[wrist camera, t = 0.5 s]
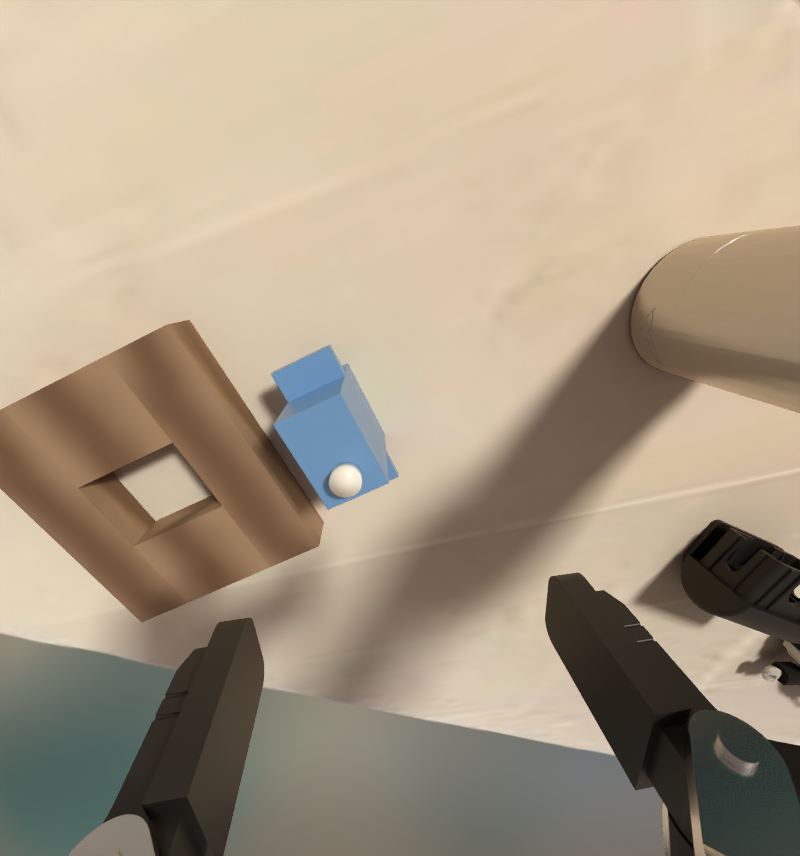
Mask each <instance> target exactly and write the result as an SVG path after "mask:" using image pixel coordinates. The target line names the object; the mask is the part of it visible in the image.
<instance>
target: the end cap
mask: <svg viewBox="0 0 800 856" xmlns="http://www.w3.org/2000/svg"><path fill="white" fill-rule="evenodd" d="M681 580H682V584H683V587H684V590H685V592H686V593H687V595H688V597H689V598H690V599H691V600H692V602H693V603H694V604H696V605H697V606H698V607H699V608H701V609H702V610H704V611H706V612H708V613H710V614H713V615H716V616H718V617H721V618H724V619H727V620H729V621H732V622H735V623H738V624H740V625H743V626H746V627H749V628H751V629H754V630H757V631H760V632H762V633H765V634H768V635H771V636H774V637H776V638H779V639H782V640H785V641H787V642H791V643H796V644H800V598H798V597H797V596H796V595H795V594H794V589H795V588H796V587H797V586H798V585H799V584H800V559H798V558H796V557H795V556H793V555H791V554H789V553H787V552H785V551H784V550H783V549H781V548H780V547H778V546H777V545H775V544H772V543H770V542H768V541H766V540H763V539H761V538H759V537H757V536H755V535H752V534H750V533H748V532H746V531H743V530H741V529H739V528H737V527H734V526H732V525H730V524H728V523H725V522H723V521H721V520H714V521H712V522H711V523H710V524H709V525H708V526H707V528H706V529H705V530H704V531H703V532H702V533H701V534H700V535H699V537H698V538H697V539H696V540H695V541H694V542H693V543H692V544H691V546H690V547H689V548H688V549H687V550H686V552H685V554H684V557H683V564H682V569H681Z"/></svg>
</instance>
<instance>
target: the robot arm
mask: <svg viewBox="0 0 800 856" xmlns="http://www.w3.org/2000/svg"><path fill="white" fill-rule="evenodd" d="M630 324H631V336H632V340H633V343H634V346H635V348H636V350H637V352H638V353H639V355H640V356H641V358H642V359H643V360H645V361H646V362H647V363H648V364H649V365H651V366H653V367H655V368H657V369H659V370H662V371H665V372H669V373H672V374H675V375H678V376H682V377H685V378H688V379H691V380H694V381H698V382H701V383H703V384H707V385H710V386H713V387H716V388H720V389H723V390H726V391H729V392H733V393H736V394H739V395H742V396H746V397H749V398H752V399H755V400H758V401H762V402H765V403H768V404H771V405H775V406H778V407H781V408H784V409H788V410H791V411H794V412H797V413H800V226H792V227H784V228H776V229H766V230H758V231H750V232H742V233H734V234H726V235H718V236H710V237H705V238H700V239H696V240H692V241H690V242H688V243H686V244H683V245H681V246H679V247H678V248H676V249H675V250H673V251H672V252H670V253H669V254H668V255H666V256H665V257H664V258H663V259H662V260H661V261H660V262H659V263H658V264H657V265H656V266H655V267H654V268H653V269H652V271H651V272H650V273H649V275H648V276H647V277H646V279H645V280H644V282H643V284H642V286H641V288H640V290H639V292H638V294H637V296H636V299H635V302H634V305H633V308H632V315H631V323H630ZM545 622H546V628H547V632H548V635H549V638H550V640H551V642H552V644H553V646H554V648H555V649H556V651H557V653H558V655H559V656H560V658H561V660H562V662H563V663H564V665H565V667H566V669H567V670H568V672H569V674H570V676H571V677H572V679H573V681H574V683H575V685H576V686H577V688H578V690H579V692H580V693H581V695H582V697H583V699H584V700H585V702H586V704H587V706H588V707H589V709H590V711H591V713H592V714H593V716H594V718H595V720H596V722H597V723H598V725H599V727H600V729H601V730H602V732H603V734H604V736H605V737H606V739H607V741H608V743H609V744H610V746H611V748H612V750H613V751H614V753H615V755H616V757H617V758H618V760H619V762H620V764H621V766H622V767H623V769H624V771H625V773H626V774H627V776H628V778H629V780H630V781H631V783H632V785H633V787H634V788H635V790H639V789H644V788H649V787H655V789H656V791H657V792H658V794H659V796H660V797H661V799H662V800H663V802H664V804H663V833H664V852H665V856H800V746H798V745H793V744H787V743H782V742H777V741H772V740H768V739H766V738H765V737H764V736H763V735H762V734H761V733H759V732H758V731H757V730H756V729H754V728H753V727H752V726H750V725H749V724H747V723H746V722H744V721H742V720H741V719H739V718H737V717H735V716H732V715H730V714H728V713H725V712H722V711H718V710H717V709H716V708H715V707H714V706H713V705H712V704H711V703H710V702H709V701H708V700H707V699H706V698H705V697H704V695H703V694H702V693H701V692H700V691H699V690H698V688H697V687H696V686H695V685H694V684H693V683H692V682H691V680H690V679H689V678H688V677H687V676H686V675H685V674H684V672H683V671H682V670H681V669H680V668H679V667H678V666H677V664H676V663H675V662H674V661H673V660H672V659H671V658H670V656H669V655H668V654H667V653H666V652H665V651H664V649H663V648H662V647H661V646H660V645H659V644H658V643H657V641H654V640H653V637H652V636H651V635H650V633H649V632H648V631H647V630H646V629H645V628H644V627H643V626H641V625H640V622H639V621H638V620H637V618H636V617H635V616H634V615H633V614H632V613H631V612H630V610H629V609H628V608H627V607H626V606H625V605H624V604H623V603H621V602H620V601H619V600H617V599H616V598H614V597H613V596H611V595H610V594H608V593H607V592H605V591H604V590H602V591H595V590H594V588H593V587H592V586H591V585H590V584H589V582H588V581H587V580H586V579H585V577H584V576H583V575H581V574H580V573H572V574H565V575H558V576H551V577H550V579H549V583H548V594H547V604H546V614H545ZM263 681H264V661H263V656H262V653H261V649H260V645H259V641H258V638H257V634H256V630H255V626H254V623H253V620H252V619H251V618H245V619H238V620H231V621H224V622H220V623H218V624H217V626H216V628H215V630H214V632H213V634H212V637H211V639H210V642H209V644H208V646H207V647H205V648H198V649H195V650H194V651H193V652H192V653H191V654H190V656H189V657H188V658H187V659H186V660H185V661H184V663H183V664H182V665H181V666H180V667H179V668H178V670H177V671H176V673H175V675H174V677H173V680H172V682H171V684H170V686H169V688H168V690H167V692H166V694H165V695H166V697H165V699H164V700H163V701H162V703H161V705H160V707H159V709H158V711H157V713H156V719H155V721H153V722H152V724H151V726H150V728H149V730H148V733H147V735H146V737H145V739H144V741H143V743H142V746H141V747H140V749H139V752H138V754H137V756H136V758H135V760H134V762H133V764H132V767H131V769H130V771H129V773H128V775H127V777H126V779H125V781H124V783H123V785H122V788H121V790H120V792H119V794H118V796H117V798H116V800H115V802H114V805H113V807H112V808H111V810H110V812H109V814H108V816H107V818H106V819H105V821H104V822H103V824H102V825H100V826H99V827H97V828H96V829H94V830H93V831H92V832H91V833H90V834H88V835H87V836H86V837H85V838H84V839H83V840H82V841H81V842H80V843H79V844H78V845H77V846H76V847H75V848H74V849H73V850H72V852H71V853H70V854H69V855H68V856H223V854H224V849H225V845H226V842H227V837H228V833H229V828H230V824H231V820H232V816H233V811H234V807H235V803H236V799H237V794H238V790H239V786H240V782H241V777H242V773H243V769H244V764H245V760H246V756H247V752H248V747H249V743H250V738H251V734H252V730H253V726H254V722H255V717H256V713H257V709H258V704H259V700H260V696H261V692H262V687H263Z"/></svg>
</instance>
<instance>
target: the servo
mask: <svg viewBox="0 0 800 856" xmlns="http://www.w3.org/2000/svg"><path fill="white" fill-rule="evenodd" d="M271 376H272V377H273V379H274V380H275V382H276V384H277V385H278V387H279V389H280V390H281V392H282V394H283V395H284V397H285V398H286V400H287V402H288V403H287V405H286V406H285V408H284V409H283V411H282V412H281V414H280V415H279V417H278V418H277V420H276V421H275V423H274V424H273V426H274V427H275V429H276V430H277V432H278V434H279V435H280V437H281V438H282V440H283V441H284V443H285V444H286V446H287V447H288V449H289V451H290V452H291V454H292V455H293V457H294V458H295V460H296V461H297V463H298V464H299V466H300V468H301V469H302V471H303V472H304V474H305V475H306V477H307V478H308V480H309V481H310V483H311V485H312V486H313V488H314V489H315V491H316V492H317V494H318V495H319V497H320V498H321V500H322V502H323V503H324V505H325V506H326V508H327V509H328V510H329V509H331V508H333V507H335V506H338V505H340V504H342V503H345V502H347V501H349V500H351V499H354V498H356V497H358V496H360V495H363V494H365V493H367V492H370V491H372V490H374V489H376V488H379V487H381V486H383V485H385V484H388V483H389V481H390V480H392V479H394V478H397V477H398V472H397V470H396V468H395V466H394V464H393V462H392V461H391V459H390V457H389V455H388V453H387V451H386V446H385V436H384V432H383V430H382V428H381V426H380V424H379V422H378V420H377V418H376V416H375V415H374V413H373V411H372V409H371V407H370V405H369V403H368V401H367V399H366V397H365V395H364V393H363V391H362V390H361V388H360V386H359V384H358V382H357V380H356V378H355V376H354V374H353V372H352V370H351V368H350V366H349V364H346V365H343V366H341V364H340V362H339V360H338V358H337V356H336V354H335V353H334V351H333V349H332V347H331V345H328V346H326V347H324V348H322V349H319V350H317V351H315V352H313V353H311V354H309V355H307V356H305V357H303V358H301V359H299V360H297V361H295V362H293V363H291V364H288V365H286V366H284V367H282V368H280V369H278V370H276V371H274V372H273V373H271Z"/></svg>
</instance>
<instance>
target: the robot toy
mask: <svg viewBox="0 0 800 856" xmlns="http://www.w3.org/2000/svg"><path fill="white" fill-rule="evenodd" d="M783 645H784V646H785V648H786V649H787V653H788V654H789V655H790V656H791V657H792V658H793V659H794V660H795V661H796V662H797V663H798V664H799V665H800V644H796V643H791V642H787V641H785V640H784V643H783ZM763 671H764V672H763V673H762V676H763V678H764V679H766V680H767V681H772V682H773V681H775V680H778V681H779V682H780V683H782V684H783V685H800V666H798V665H796V664H794V663H792V662H774V663H772V665H770V666H766V667H765V668H764V670H763Z"/></svg>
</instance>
